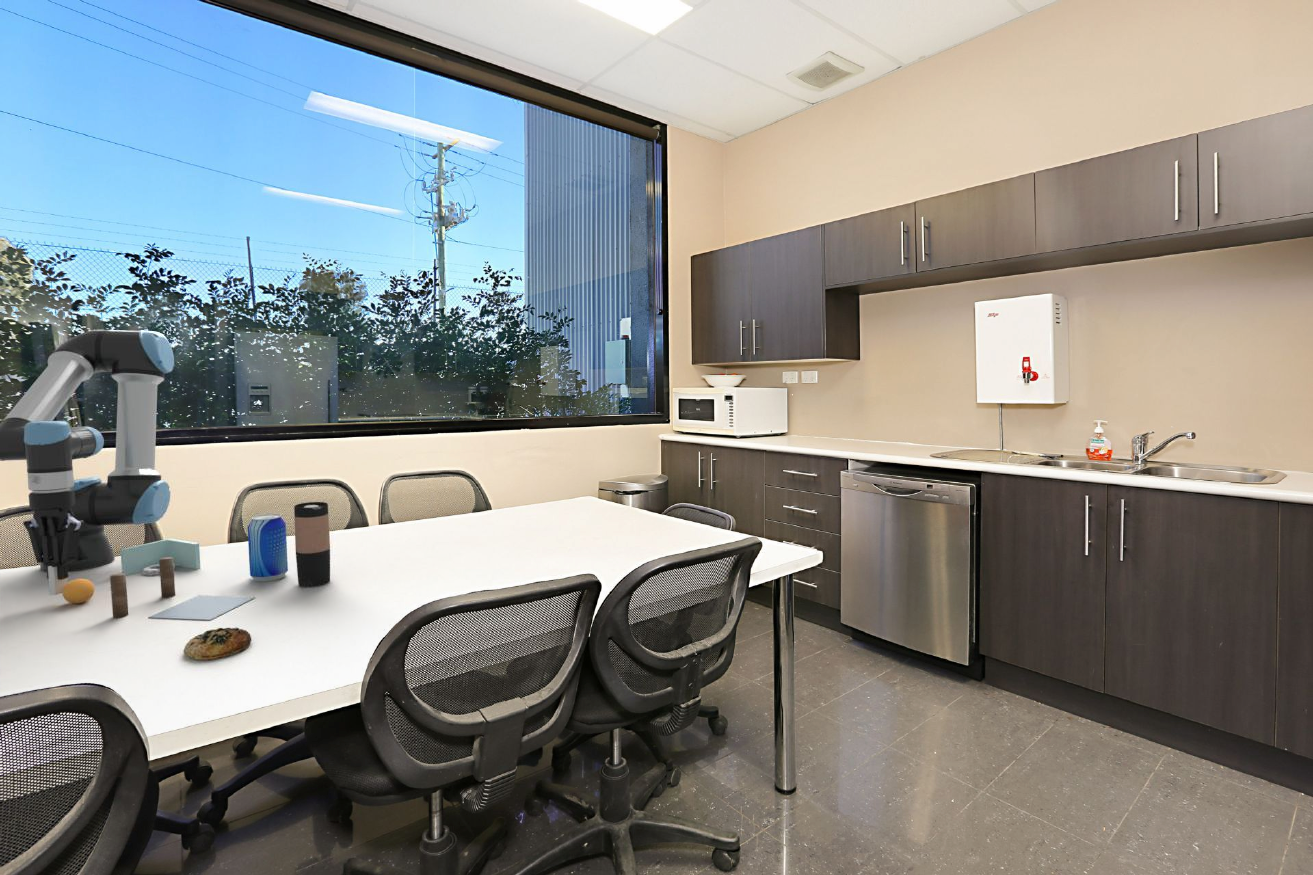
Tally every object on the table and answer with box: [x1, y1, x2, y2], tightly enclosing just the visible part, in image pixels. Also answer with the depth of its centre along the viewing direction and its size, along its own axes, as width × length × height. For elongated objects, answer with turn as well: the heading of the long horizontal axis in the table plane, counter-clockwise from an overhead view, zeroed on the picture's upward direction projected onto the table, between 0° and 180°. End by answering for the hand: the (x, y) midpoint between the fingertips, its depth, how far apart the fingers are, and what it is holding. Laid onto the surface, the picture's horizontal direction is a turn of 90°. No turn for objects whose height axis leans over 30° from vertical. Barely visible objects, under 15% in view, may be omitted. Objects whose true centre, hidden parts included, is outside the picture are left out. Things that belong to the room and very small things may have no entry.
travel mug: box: [293, 501, 331, 588], centre depth 163 cm, size 8×8×20 cm
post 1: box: [109, 572, 129, 619], centre depth 140 cm, size 3×3×9 cm
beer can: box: [247, 513, 289, 582], centre depth 167 cm, size 8×8×16 cm
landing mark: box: [147, 594, 256, 622], centre depth 146 cm, size 14×14×1 cm
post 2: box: [159, 557, 176, 599], centre depth 153 cm, size 3×3×9 cm
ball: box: [61, 578, 96, 604], centre depth 148 cm, size 6×6×6 cm
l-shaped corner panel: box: [119, 538, 201, 577], centre depth 171 cm, size 12×12×8 cm
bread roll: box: [182, 627, 252, 662], centre depth 124 cm, size 11×11×5 cm
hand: (58, 592), depth 147 cm, fingers closed
